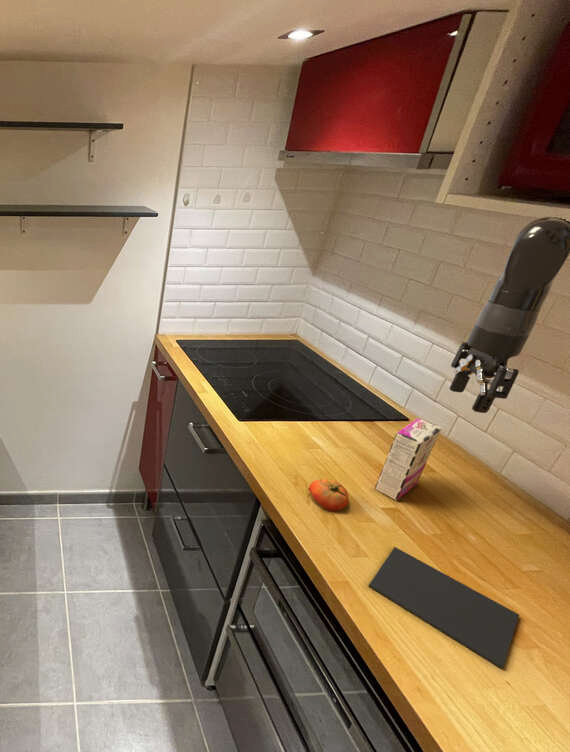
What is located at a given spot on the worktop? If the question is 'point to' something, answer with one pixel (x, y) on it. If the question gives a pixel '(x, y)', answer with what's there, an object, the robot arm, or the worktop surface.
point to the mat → (447, 605)
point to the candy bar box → (407, 458)
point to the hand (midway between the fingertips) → (466, 400)
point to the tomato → (329, 494)
